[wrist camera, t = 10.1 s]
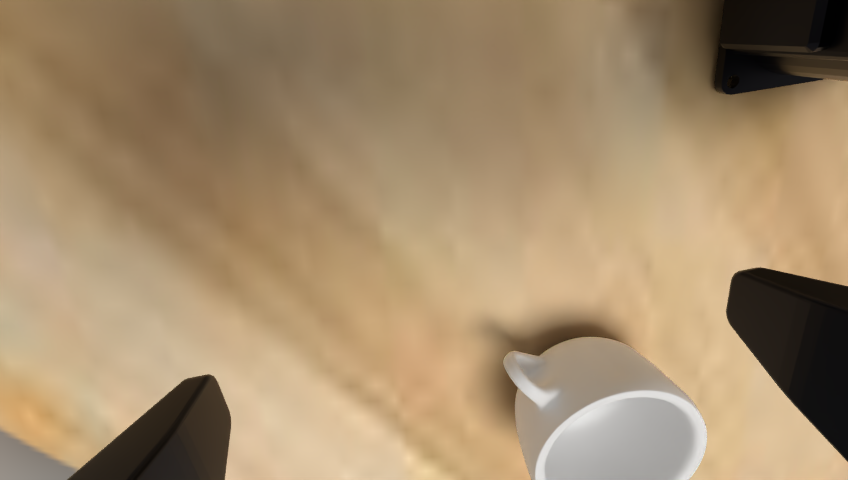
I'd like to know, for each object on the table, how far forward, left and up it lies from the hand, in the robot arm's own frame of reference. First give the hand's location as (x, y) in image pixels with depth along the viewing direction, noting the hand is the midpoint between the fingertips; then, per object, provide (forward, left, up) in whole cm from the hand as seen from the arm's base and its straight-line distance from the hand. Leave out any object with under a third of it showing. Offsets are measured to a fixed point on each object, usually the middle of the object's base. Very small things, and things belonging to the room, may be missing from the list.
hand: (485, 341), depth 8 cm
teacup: (-6, +12, -12) cm, 18 cm away
